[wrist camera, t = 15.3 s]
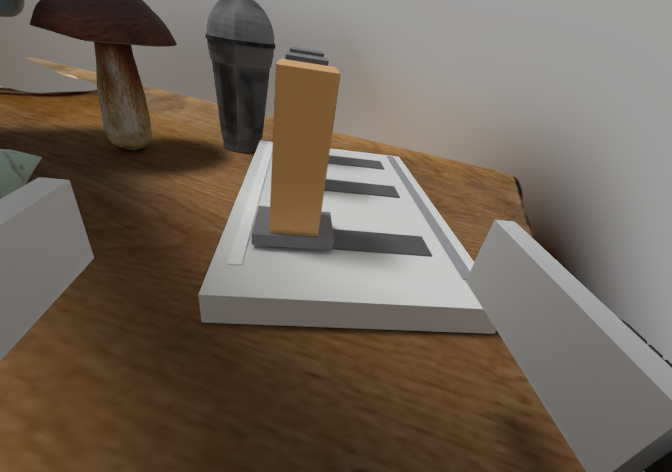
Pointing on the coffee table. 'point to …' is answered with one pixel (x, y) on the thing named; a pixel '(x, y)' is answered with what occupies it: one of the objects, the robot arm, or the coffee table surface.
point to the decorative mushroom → (112, 56)
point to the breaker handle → (299, 158)
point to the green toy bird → (15, 170)
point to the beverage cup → (240, 69)
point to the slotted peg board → (346, 255)
